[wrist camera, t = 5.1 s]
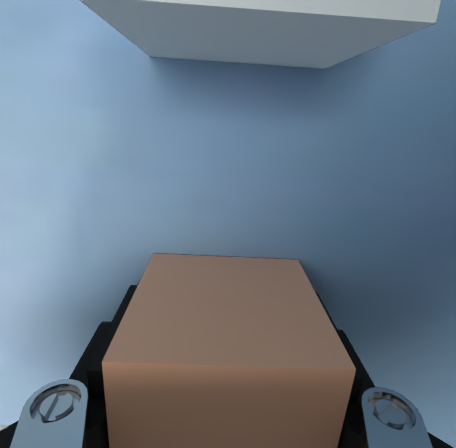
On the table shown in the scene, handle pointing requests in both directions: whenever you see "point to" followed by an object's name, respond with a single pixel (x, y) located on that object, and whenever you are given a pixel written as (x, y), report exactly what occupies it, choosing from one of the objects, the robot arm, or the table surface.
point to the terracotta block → (225, 358)
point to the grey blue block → (265, 28)
